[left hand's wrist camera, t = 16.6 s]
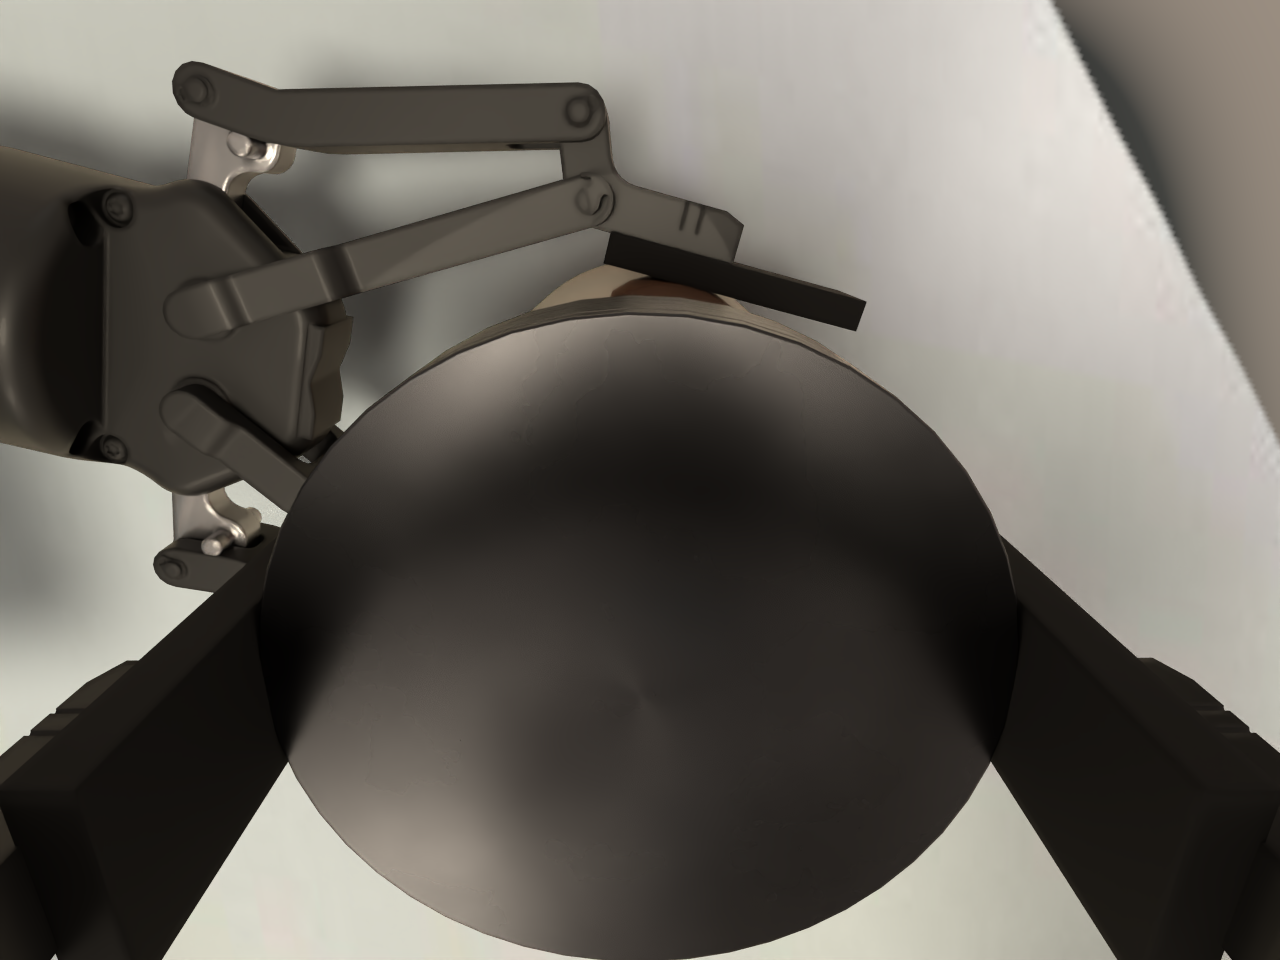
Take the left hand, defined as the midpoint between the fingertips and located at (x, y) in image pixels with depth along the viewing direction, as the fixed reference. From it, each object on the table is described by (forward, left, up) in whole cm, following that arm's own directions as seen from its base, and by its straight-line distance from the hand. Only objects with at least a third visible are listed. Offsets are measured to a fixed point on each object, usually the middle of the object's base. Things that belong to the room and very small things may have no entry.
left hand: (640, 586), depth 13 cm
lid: (0, 0, +3) cm, 3 cm away
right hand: (-4, -2, -8) cm, 9 cm away
